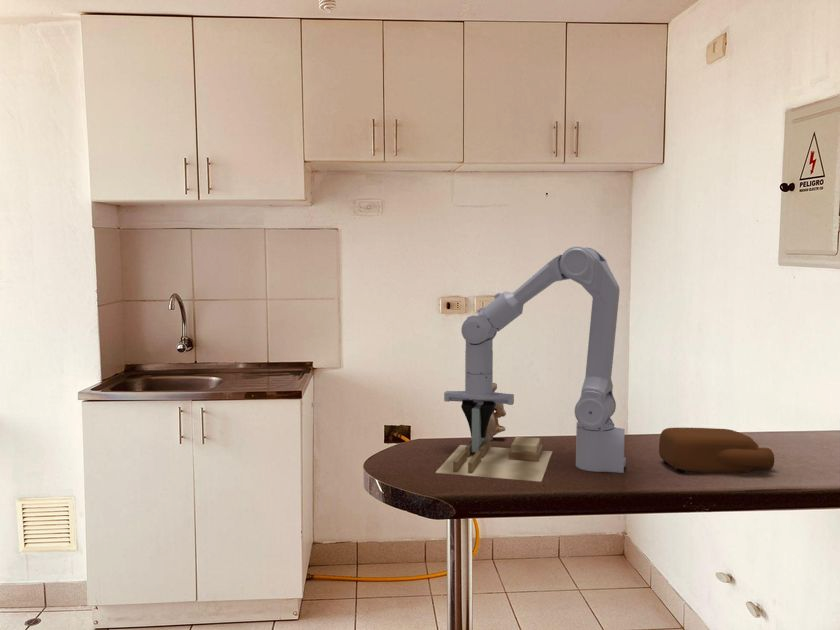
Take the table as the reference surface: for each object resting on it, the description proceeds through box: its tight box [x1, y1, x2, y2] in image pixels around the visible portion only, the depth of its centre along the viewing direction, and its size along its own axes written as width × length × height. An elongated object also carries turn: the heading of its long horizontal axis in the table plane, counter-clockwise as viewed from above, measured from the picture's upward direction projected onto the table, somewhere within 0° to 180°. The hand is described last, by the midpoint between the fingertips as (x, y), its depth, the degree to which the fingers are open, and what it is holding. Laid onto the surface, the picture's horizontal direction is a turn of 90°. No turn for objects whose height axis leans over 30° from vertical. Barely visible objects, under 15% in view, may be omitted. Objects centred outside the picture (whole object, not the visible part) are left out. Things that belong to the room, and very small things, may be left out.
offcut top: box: [510, 436, 541, 454], centre depth 148 cm, size 5×7×2 cm
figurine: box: [477, 382, 507, 441], centre depth 163 cm, size 6×8×15 cm
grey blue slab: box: [471, 403, 485, 453], centre depth 150 cm, size 2×7×9 cm, turn 164°
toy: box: [658, 427, 775, 474], centre depth 143 cm, size 15×8×20 cm
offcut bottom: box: [508, 444, 543, 462], centre depth 148 cm, size 6×8×2 cm
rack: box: [435, 438, 553, 487], centre depth 144 cm, size 20×22×3 cm
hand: (478, 436), depth 150 cm, fingers closed on grey blue slab, 1 cm apart
